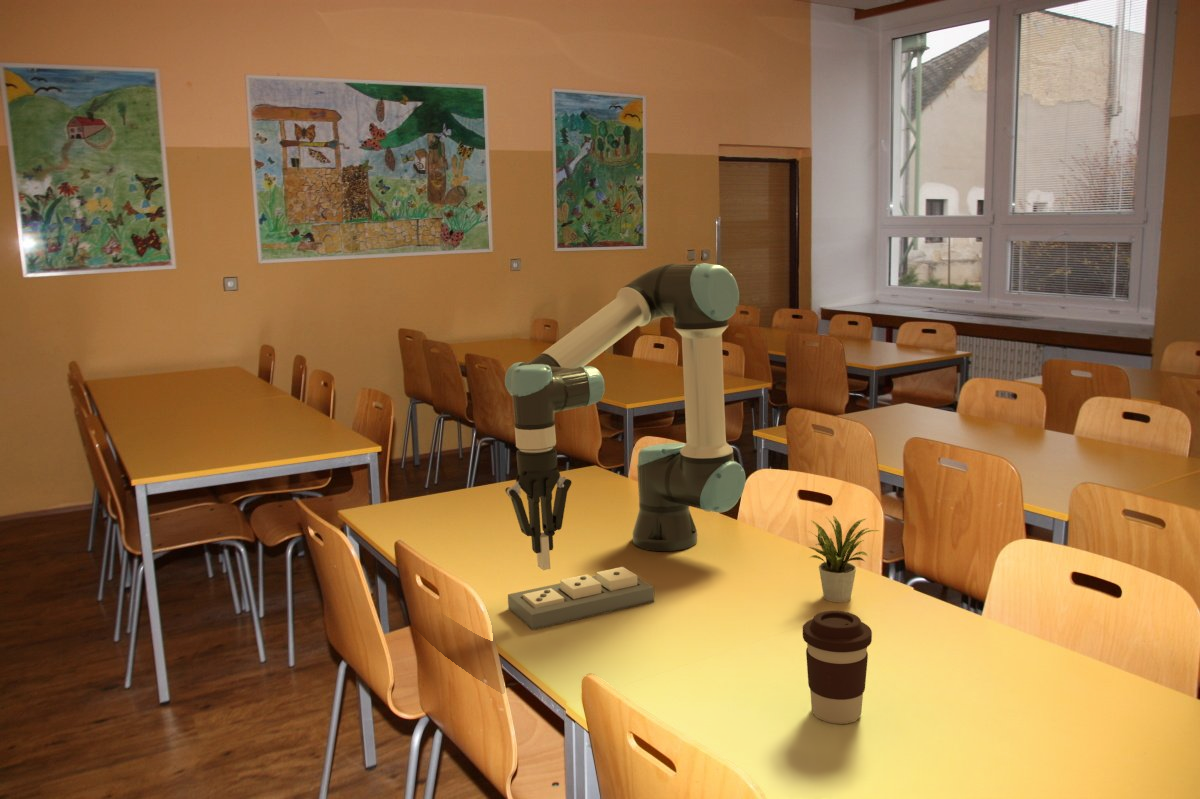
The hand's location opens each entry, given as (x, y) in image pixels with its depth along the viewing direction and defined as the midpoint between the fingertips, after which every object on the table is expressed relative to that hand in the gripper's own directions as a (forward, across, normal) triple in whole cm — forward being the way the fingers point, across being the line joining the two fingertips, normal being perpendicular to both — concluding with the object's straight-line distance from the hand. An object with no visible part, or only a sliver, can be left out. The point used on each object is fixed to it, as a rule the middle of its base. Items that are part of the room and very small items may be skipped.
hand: (544, 567), depth 186 cm
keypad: (+9, -7, 0) cm, 12 cm away
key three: (+8, +1, 0) cm, 8 cm away
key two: (+7, -7, 0) cm, 10 cm away
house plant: (+11, -53, +24) cm, 59 cm away
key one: (+7, -15, 0) cm, 17 cm away
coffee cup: (+10, -21, +59) cm, 63 cm away
